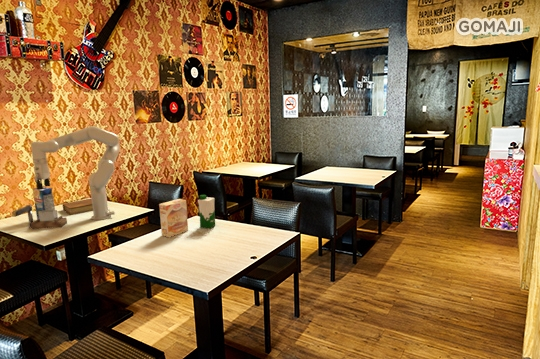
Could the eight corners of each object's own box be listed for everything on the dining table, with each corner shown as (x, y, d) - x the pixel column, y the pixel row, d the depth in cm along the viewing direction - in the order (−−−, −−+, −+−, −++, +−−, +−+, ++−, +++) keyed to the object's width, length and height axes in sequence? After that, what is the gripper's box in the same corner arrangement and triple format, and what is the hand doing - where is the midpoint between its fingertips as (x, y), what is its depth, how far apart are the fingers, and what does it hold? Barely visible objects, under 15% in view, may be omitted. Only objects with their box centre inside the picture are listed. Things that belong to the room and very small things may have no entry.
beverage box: (46, 222, 257) (41, 190, 253) (37, 220, 262) (32, 188, 258) (56, 219, 263) (51, 188, 259) (46, 217, 268) (42, 186, 264)
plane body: (67, 223, 253) (66, 215, 252) (61, 227, 245) (60, 219, 243) (38, 224, 252) (37, 217, 250) (31, 229, 243) (30, 221, 242)
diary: (95, 204, 301) (94, 197, 300) (103, 209, 288) (102, 201, 287) (63, 210, 286) (62, 203, 285) (70, 215, 272) (69, 207, 271)
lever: (16, 216, 231) (15, 211, 230) (11, 216, 231) (10, 211, 230) (33, 209, 246) (32, 204, 245) (28, 209, 246) (27, 204, 246)
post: (36, 226, 249) (33, 209, 247) (33, 227, 245) (31, 211, 243) (30, 226, 249) (28, 210, 246) (27, 228, 245) (25, 211, 243)
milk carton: (204, 223, 245) (203, 193, 241) (217, 224, 242) (215, 194, 238) (198, 228, 237) (196, 196, 233) (211, 229, 234) (209, 197, 230)
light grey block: (58, 218, 250) (56, 208, 249) (54, 221, 245) (53, 211, 244) (43, 219, 249) (42, 209, 248) (39, 221, 244) (38, 211, 243)
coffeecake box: (168, 237, 221) (166, 205, 217) (161, 235, 225) (158, 203, 221) (188, 230, 233) (186, 199, 229) (181, 228, 237) (178, 198, 233)
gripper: (39, 163, 231) (43, 190, 235) (52, 159, 248) (56, 184, 252) (26, 163, 231) (30, 191, 234) (40, 159, 247) (44, 185, 251)
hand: (43, 187), depth 243 cm, fingers open, 9 cm apart
